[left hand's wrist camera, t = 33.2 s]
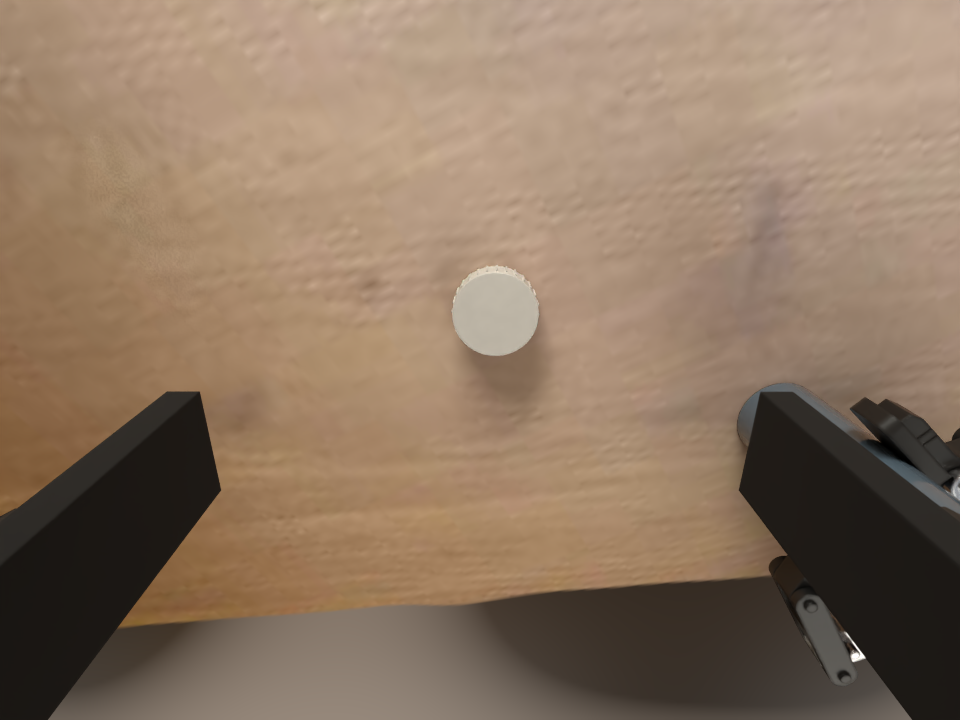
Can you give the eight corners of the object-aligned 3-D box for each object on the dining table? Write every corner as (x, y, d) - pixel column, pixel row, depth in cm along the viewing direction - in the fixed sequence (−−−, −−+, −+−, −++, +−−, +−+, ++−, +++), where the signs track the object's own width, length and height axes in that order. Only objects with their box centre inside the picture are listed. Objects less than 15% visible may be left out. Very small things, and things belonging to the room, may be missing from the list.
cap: (553, 294, 26) (557, 303, 25) (506, 360, 27) (506, 372, 26) (483, 247, 25) (482, 253, 24) (437, 317, 27) (434, 327, 25)
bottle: (729, 451, 29) (1114, 928, 11) (747, 380, 28) (1228, 795, 10) (806, 456, 29) (1320, 941, 11) (829, 385, 28) (1466, 810, 10)
